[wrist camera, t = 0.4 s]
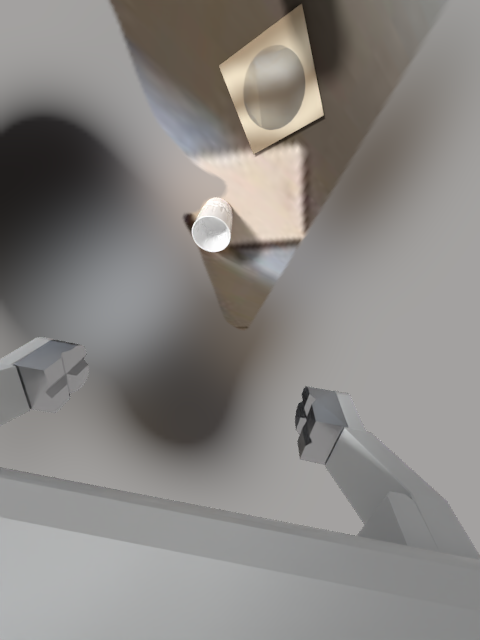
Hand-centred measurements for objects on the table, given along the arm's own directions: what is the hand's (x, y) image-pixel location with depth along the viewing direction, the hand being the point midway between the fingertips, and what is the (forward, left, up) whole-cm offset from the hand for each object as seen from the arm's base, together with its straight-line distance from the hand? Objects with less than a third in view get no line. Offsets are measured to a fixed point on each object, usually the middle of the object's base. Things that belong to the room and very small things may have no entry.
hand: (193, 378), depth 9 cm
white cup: (+12, -14, -51) cm, 54 cm away
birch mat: (-1, +4, -51) cm, 51 cm away
